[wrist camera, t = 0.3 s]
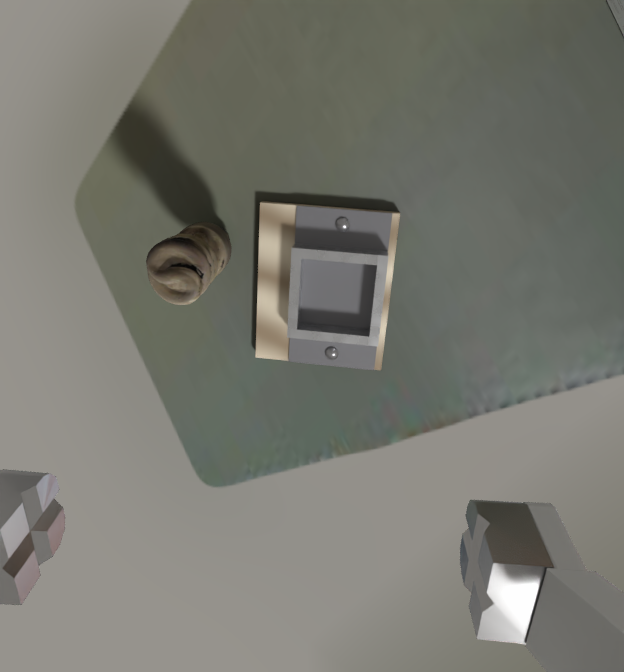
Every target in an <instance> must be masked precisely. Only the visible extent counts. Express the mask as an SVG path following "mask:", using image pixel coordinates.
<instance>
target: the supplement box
mask: <svg viewBox="0 0 624 672" xmlns="http://www.w3.org/2000/svg"><path fill="white" fill-rule="evenodd" d="M607 2H608V4H609V6H610V8H611V11H612V13H613V15H614V17H615V19H616V21H617V23H618V25H619V27H620V29H621V31H622V34H623V36H624V0H607Z"/></svg>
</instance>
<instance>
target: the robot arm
mask: <svg viewBox="0 0 624 672" xmlns="http://www.w3.org/2000/svg"><path fill="white" fill-rule="evenodd" d="M58 492H59V486H58V482H57V479H56V476H54V475H52V474H49V473H39V472H27V471H16V470H4V469H3V470H0V604H12V605H22V603H23V601H24V600H25V599H26V597H27V596H28V594H29V593H30V591H31V589H32V588H33V586H34V585H35V583H36V582H37V580H38V579H39V577H40V569H39V565H40V564H42V563H43V562H45V561H47V560H48V559H50V558H51V557H53V555H54V554H55V552H56V550H57V549H58V547H59V545H60V543H61V540H62V537H63V533H64V530H65V514H64V509H63V507H62V506H61V505H60V504H59V503H58V502H57V501H56V500H55V499H54V497H55V496H56V494H57V493H58ZM466 520H467V524H468V527H469V528H468V529H467V530H466V531H465V532H464V533H463V534H462V539H461V545H460V566H461V574H462V578H463V583H464V586H465V587H466V588H467V589H469V591H470V592H471V598H470V603H469V609H470V613H471V617H472V621H473V625H474V629H475V633H476V637H477V639H482V640H492V641H501V642H511V643H522V644H526V645H525V647H526V648H527V649H528V650H529V651H530V653H531V654H532V655H533V656H534V657H535V659H536V660H537V661H538V662H539V663H540V665H541V666H542V667H543V668H544V669H545V670H546V672H624V592H622V591H621V590H620V589H618V588H617V587H616V586H614V585H613V584H612V583H610V582H609V581H608V580H606V579H605V578H604V577H603V576H601V575H600V574H599V573H597V572H596V571H587V569H586V567H585V565H584V563H583V561H582V559H581V557H580V555H579V553H578V551H577V549H576V547H575V545H574V543H573V541H572V539H571V537H570V535H569V534H568V531H567V530H566V528H565V526H564V524H563V522H562V520H561V518H560V516H559V514H558V512H557V510H556V508H555V507H554V506H553V505H552V504H551V503H533V502H523V503H519V502H503V501H483V500H470V501H469V503H468V506H467V511H466Z"/></svg>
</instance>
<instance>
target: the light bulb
mask: <svg viewBox="0 0 624 672" xmlns="http://www.w3.org/2000/svg"><path fill="white" fill-rule="evenodd" d="M231 249H232V248H231V243H230V239H229V235H228V233H227V232H226V231H225V230H224V229H223V228H221V227H219V226H217V225H215V224H213V223H209V222H198V223H195V224H193V225H190V226H188V227H186V228H185V229H183V230H182V231H181V232H180V233H179V234H177V235H175V236H172V237H170V238H167V239H165V240H163V241H161V242H160V243H158V244H156V245H155V246H154V247H153V248H152V249H151V250H150V251H149V253H148V256H147V260H146V264H147V269H148V278H149V281H150V283H151V285H152V287H153V289H154V290H155V292H156V293H157V294H158V295H159V296H160V297H161V298H163V299H164V300H166V301H168V302H170V303H172V304H176V305H186V304H190V303H192V302H194V301H195V300H196V299H198V298H199V296H200V295H201V294H202V293H204V292H205V290H206V289H207V288H208V286H209V284H211V283H212V281H213V280H214V279H215V277H216V276H217V275H218V274H219V273H220V272H221V271H222V270H223V269H224V268H225V266H226V265H227V264H228V262H229V259H230V256H231Z"/></svg>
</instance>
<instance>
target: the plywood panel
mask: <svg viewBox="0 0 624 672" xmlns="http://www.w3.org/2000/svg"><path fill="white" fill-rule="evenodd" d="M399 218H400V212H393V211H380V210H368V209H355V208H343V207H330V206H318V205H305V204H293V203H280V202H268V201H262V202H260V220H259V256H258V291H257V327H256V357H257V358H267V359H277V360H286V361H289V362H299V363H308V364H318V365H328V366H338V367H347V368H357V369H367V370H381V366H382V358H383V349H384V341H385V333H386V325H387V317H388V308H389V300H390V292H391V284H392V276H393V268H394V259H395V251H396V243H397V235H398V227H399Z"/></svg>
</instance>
